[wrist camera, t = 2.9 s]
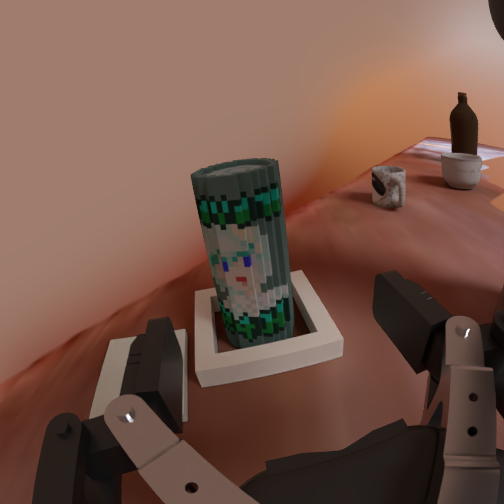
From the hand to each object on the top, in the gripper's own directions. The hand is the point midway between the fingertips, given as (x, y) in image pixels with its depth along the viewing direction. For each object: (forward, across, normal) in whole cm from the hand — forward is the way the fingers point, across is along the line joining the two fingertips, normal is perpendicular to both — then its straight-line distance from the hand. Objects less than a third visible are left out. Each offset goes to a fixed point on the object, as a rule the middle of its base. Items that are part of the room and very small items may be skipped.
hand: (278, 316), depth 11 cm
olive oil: (+65, -81, +10) cm, 105 cm away
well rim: (+13, 0, +11) cm, 17 cm away
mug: (+38, -30, +11) cm, 50 cm away
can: (+13, 0, +12) cm, 18 cm away
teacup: (+43, -57, +11) cm, 73 cm away
